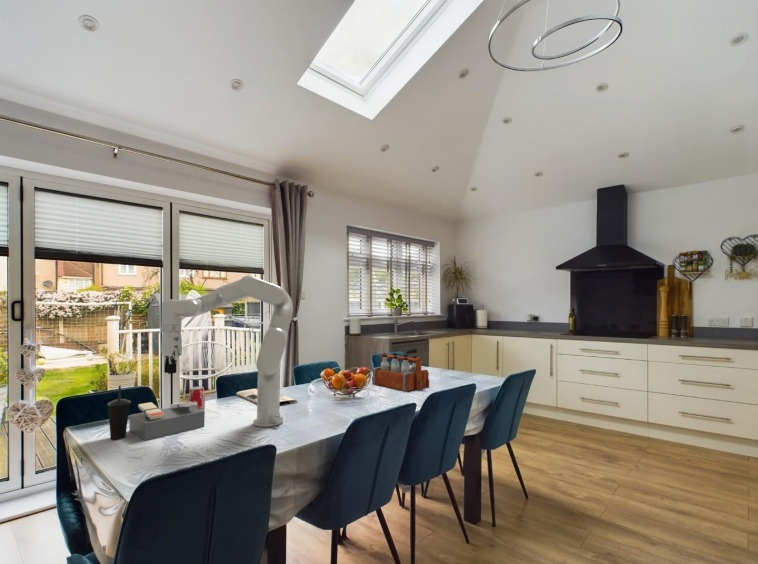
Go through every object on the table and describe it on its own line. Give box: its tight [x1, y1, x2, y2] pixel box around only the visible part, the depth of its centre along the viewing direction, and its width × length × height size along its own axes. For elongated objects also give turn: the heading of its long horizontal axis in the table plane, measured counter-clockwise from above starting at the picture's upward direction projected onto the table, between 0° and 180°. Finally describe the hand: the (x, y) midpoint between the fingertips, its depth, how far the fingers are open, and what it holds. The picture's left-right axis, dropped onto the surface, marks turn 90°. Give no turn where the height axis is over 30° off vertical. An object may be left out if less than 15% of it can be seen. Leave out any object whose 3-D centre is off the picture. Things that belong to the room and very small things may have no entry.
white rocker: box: [170, 401, 197, 407], centre depth 173 cm, size 14×5×2 cm, turn 49°
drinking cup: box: [106, 385, 132, 441], centre depth 157 cm, size 8×8×20 cm
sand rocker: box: [137, 401, 165, 420], centre depth 163 cm, size 14×5×2 cm, turn 49°
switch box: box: [128, 406, 206, 442], centre depth 170 cm, size 22×23×8 cm
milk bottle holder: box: [371, 352, 430, 392], centre depth 255 cm, size 21×35×19 cm, turn 44°
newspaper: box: [235, 388, 298, 405], centre depth 219 cm, size 37×19×3 cm, turn 41°
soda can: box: [188, 385, 206, 411], centre depth 191 cm, size 7×7×12 cm
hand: (170, 372), depth 169 cm, fingers closed
